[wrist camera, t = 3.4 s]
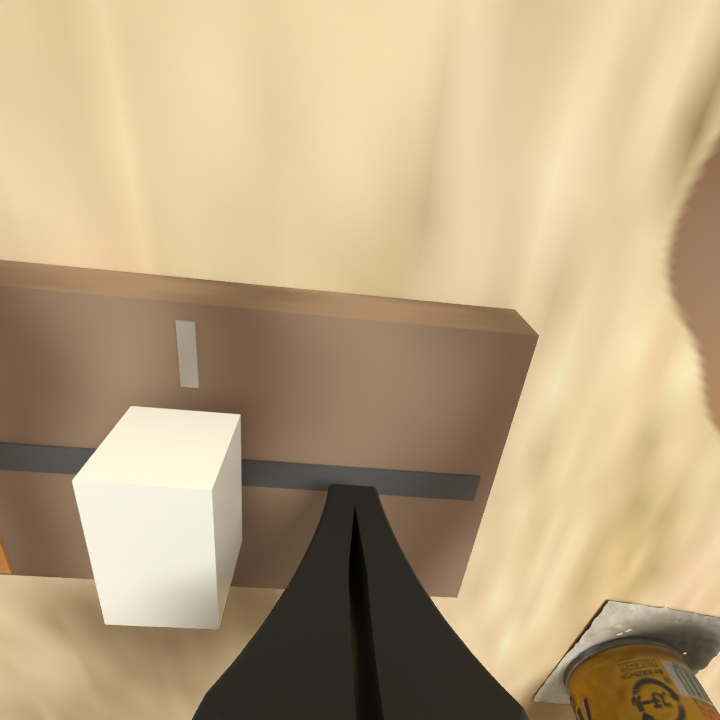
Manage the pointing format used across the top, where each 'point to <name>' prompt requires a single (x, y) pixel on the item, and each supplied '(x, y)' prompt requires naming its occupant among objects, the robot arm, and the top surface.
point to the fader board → (257, 407)
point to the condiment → (637, 666)
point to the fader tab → (164, 516)
